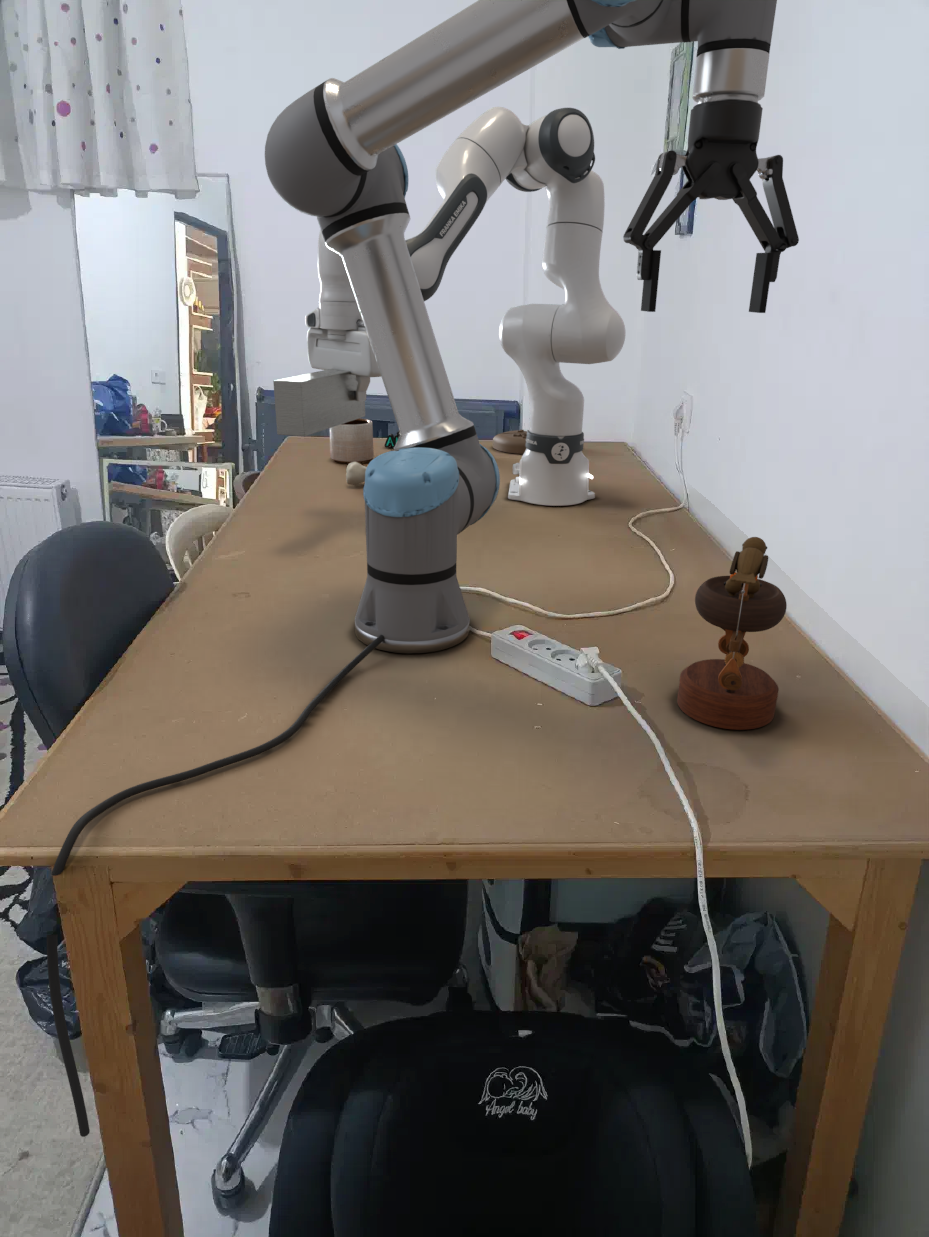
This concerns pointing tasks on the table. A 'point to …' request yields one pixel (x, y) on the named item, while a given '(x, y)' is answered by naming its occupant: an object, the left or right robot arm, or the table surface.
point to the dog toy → (355, 473)
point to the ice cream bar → (511, 441)
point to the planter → (352, 441)
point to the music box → (734, 646)
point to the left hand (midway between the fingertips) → (702, 312)
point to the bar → (316, 402)
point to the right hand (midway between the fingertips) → (347, 398)
